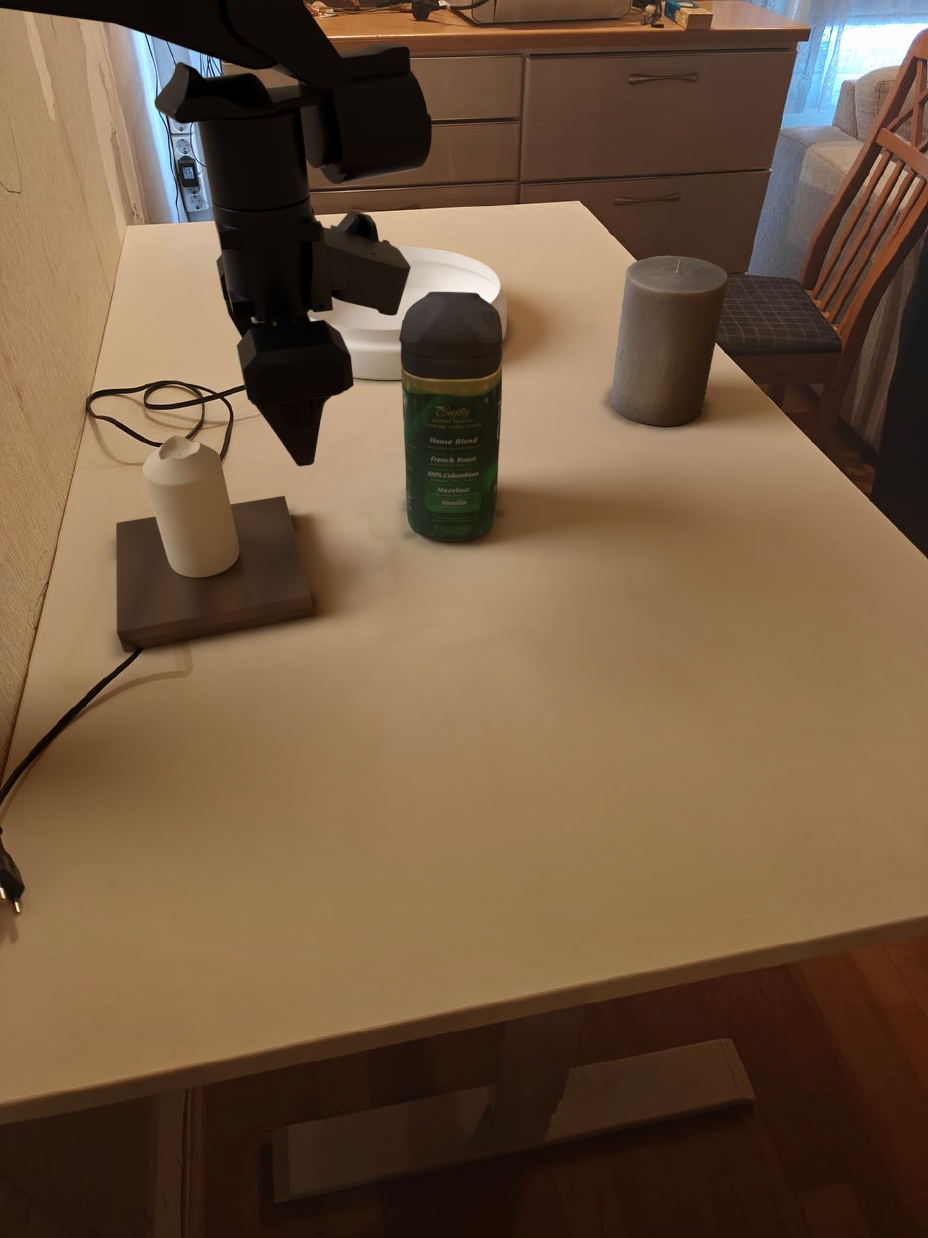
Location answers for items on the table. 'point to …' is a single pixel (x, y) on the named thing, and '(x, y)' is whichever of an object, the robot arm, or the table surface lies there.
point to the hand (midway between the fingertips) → (295, 431)
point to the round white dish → (379, 334)
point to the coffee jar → (451, 414)
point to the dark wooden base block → (210, 581)
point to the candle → (192, 507)
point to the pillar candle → (667, 338)
